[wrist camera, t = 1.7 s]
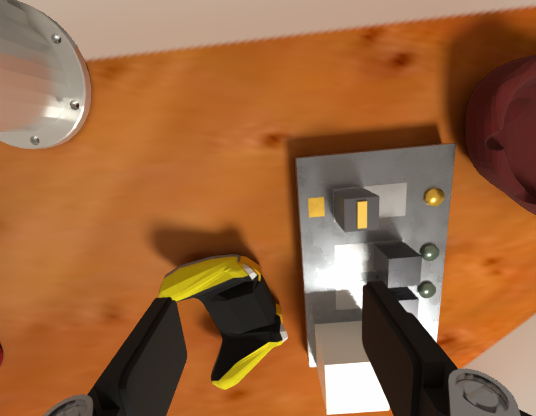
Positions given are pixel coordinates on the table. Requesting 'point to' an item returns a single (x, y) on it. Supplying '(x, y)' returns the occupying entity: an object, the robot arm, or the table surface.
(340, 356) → the chalk-white cube
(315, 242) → the panel
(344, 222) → the toggle
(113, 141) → the table surface
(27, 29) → the robot arm
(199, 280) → the gaming controller
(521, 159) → the ashtray
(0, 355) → the vase
